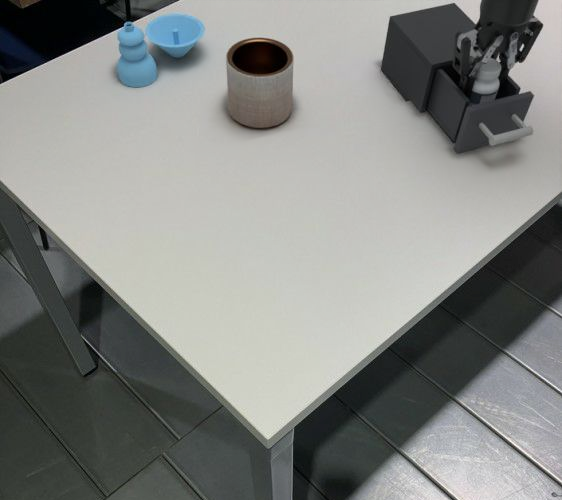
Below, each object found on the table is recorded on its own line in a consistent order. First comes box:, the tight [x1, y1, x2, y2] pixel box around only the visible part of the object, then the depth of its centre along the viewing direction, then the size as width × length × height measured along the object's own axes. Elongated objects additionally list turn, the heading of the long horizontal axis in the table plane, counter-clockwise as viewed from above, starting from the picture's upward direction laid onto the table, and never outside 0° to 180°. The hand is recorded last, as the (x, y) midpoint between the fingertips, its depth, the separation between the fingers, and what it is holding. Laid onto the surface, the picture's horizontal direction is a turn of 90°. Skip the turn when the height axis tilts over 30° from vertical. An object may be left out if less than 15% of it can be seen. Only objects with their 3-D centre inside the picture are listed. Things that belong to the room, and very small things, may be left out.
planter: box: [225, 37, 295, 129], centre depth 102 cm, size 11×11×10 cm
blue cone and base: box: [116, 13, 206, 88], centre depth 108 cm, size 18×10×9 cm, turn 136°
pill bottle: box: [468, 58, 501, 107], centre depth 98 cm, size 5×5×9 cm
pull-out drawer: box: [425, 57, 535, 155], centre depth 100 cm, size 18×11×8 cm, turn 22°
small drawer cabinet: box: [380, 2, 499, 114], centre depth 106 cm, size 15×13×10 cm
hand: (479, 91), depth 98 cm, fingers closed on pill bottle, 5 cm apart
